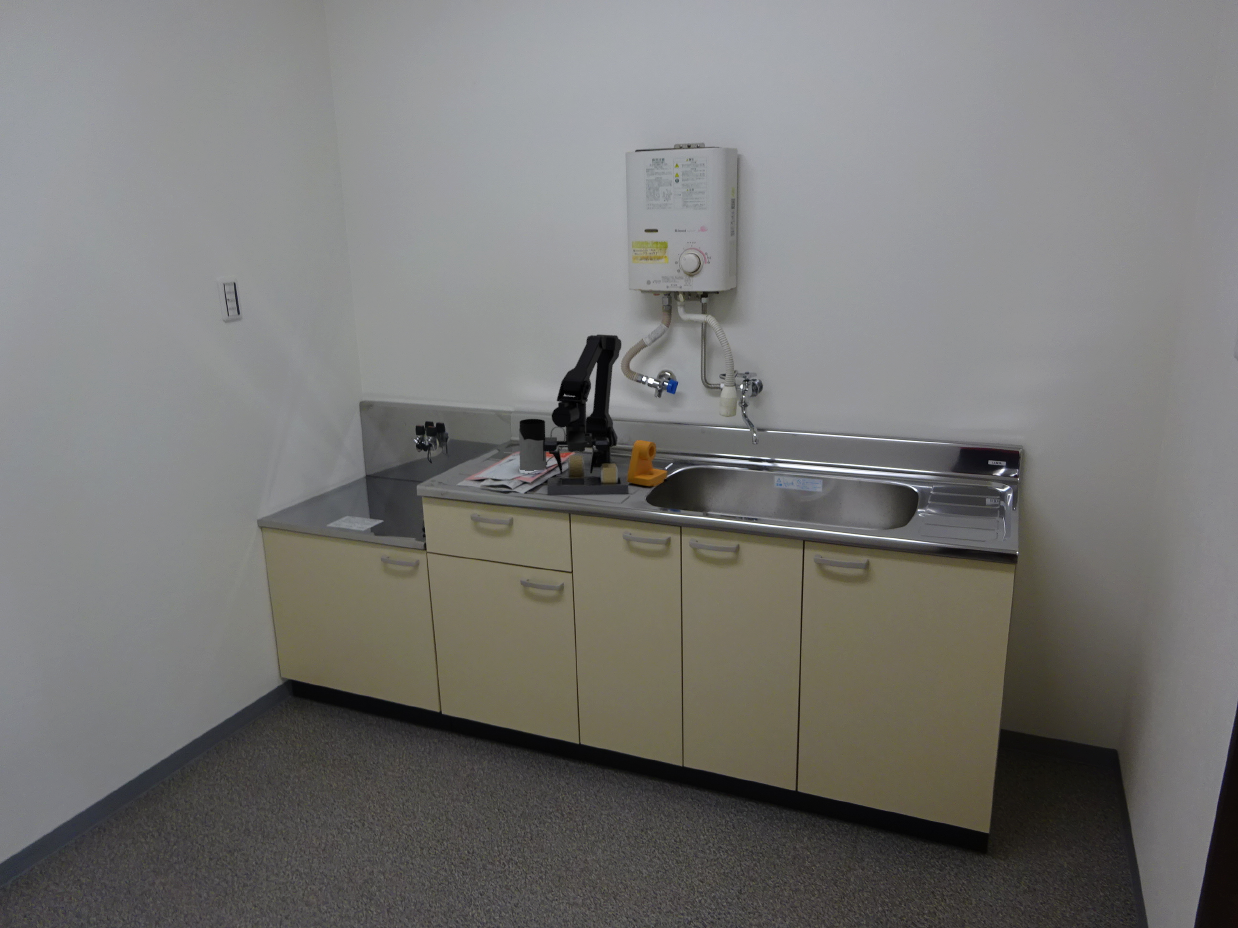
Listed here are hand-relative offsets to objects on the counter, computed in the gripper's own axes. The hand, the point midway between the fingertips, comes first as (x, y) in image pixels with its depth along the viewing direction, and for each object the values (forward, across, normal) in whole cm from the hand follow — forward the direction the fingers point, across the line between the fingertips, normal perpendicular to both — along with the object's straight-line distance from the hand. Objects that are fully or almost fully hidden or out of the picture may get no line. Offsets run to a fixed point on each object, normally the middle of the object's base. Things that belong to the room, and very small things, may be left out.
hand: (576, 473), depth 250 cm
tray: (+2, +3, -9) cm, 10 cm away
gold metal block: (+2, 0, 0) cm, 2 cm away
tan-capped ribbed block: (+2, +9, -9) cm, 13 cm away
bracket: (+3, +20, -2) cm, 21 cm away
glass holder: (+2, -10, +11) cm, 15 cm away
